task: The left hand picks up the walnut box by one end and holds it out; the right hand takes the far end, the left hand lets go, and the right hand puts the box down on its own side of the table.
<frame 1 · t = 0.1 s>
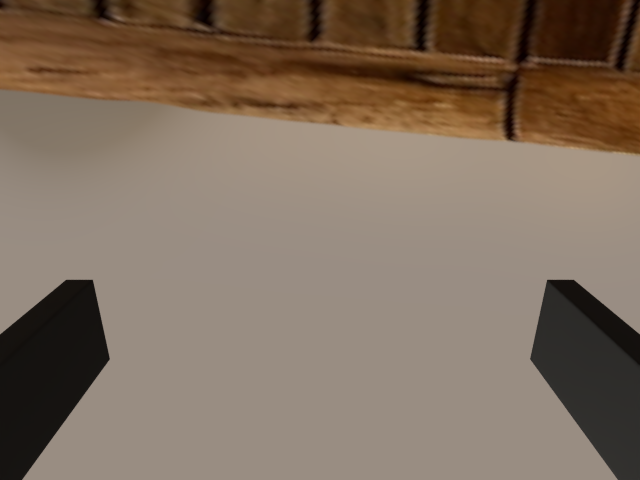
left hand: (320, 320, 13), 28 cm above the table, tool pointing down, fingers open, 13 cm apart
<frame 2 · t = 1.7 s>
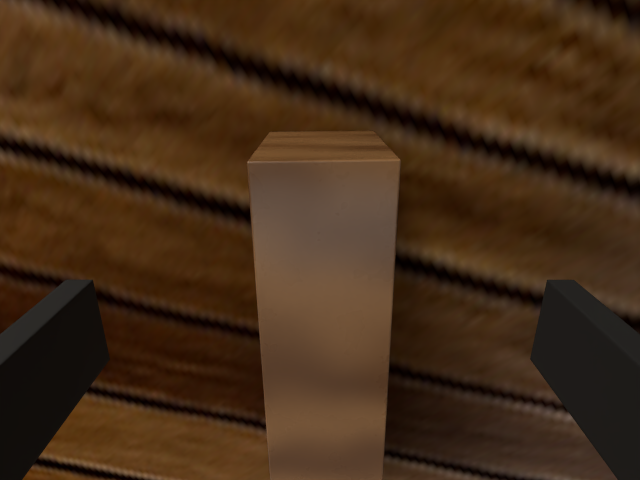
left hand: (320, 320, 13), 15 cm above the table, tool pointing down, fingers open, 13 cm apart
box: (323, 338, 31), on the table
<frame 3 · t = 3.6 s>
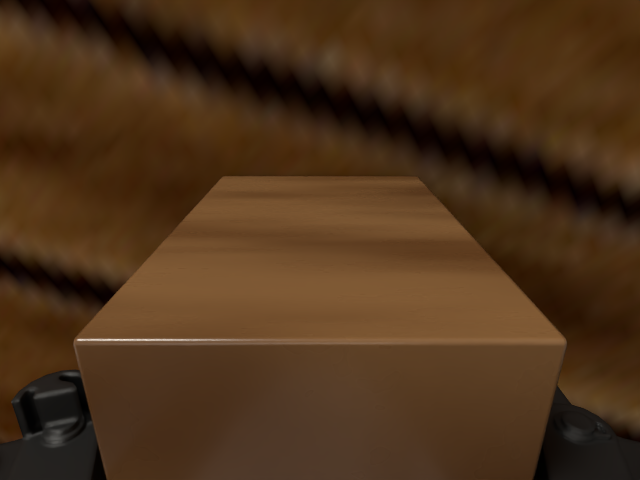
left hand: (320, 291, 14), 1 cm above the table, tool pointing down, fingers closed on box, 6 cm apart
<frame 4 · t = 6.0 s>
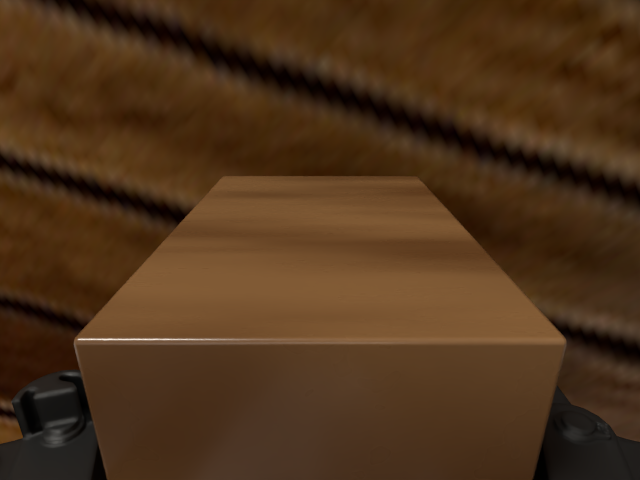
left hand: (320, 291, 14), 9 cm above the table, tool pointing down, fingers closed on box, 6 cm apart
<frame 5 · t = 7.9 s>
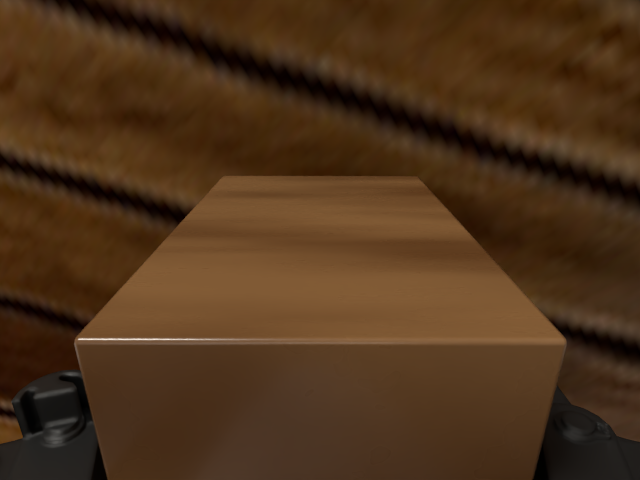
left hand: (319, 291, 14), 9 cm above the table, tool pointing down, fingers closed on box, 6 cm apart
when the left hand's fingers open (9 cm above the table, at t = 8.6 s): box stays where it is, held by the right hand.
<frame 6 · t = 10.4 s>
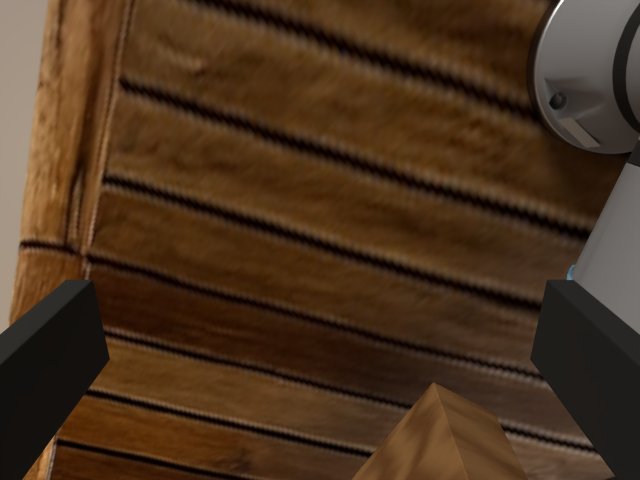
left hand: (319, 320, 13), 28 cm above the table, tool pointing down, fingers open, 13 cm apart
when the right hand's fingers open (2 cm above the table, at t = 13.2 s): box drops 1 cm, on the table.
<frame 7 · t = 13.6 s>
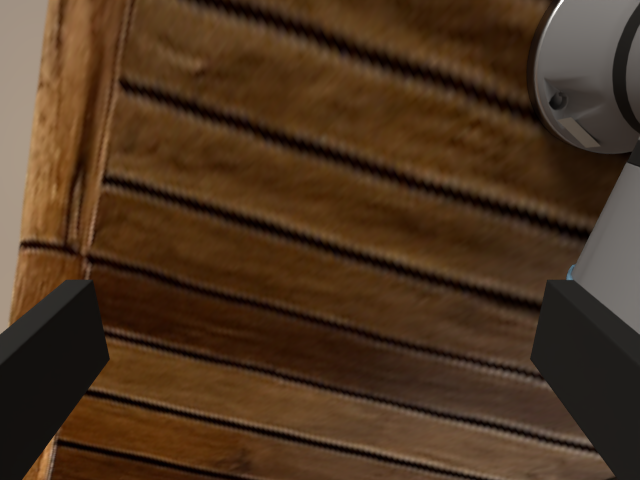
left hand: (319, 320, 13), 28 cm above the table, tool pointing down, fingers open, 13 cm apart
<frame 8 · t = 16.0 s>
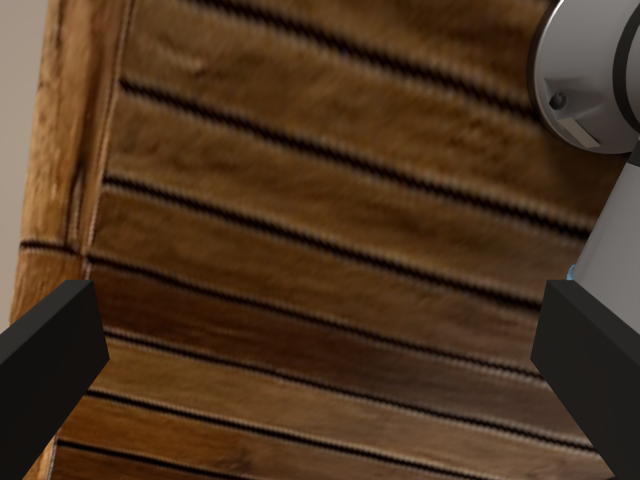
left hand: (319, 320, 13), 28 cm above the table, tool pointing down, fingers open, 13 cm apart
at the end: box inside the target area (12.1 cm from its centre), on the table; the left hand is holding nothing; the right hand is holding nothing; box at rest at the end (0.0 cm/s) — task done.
